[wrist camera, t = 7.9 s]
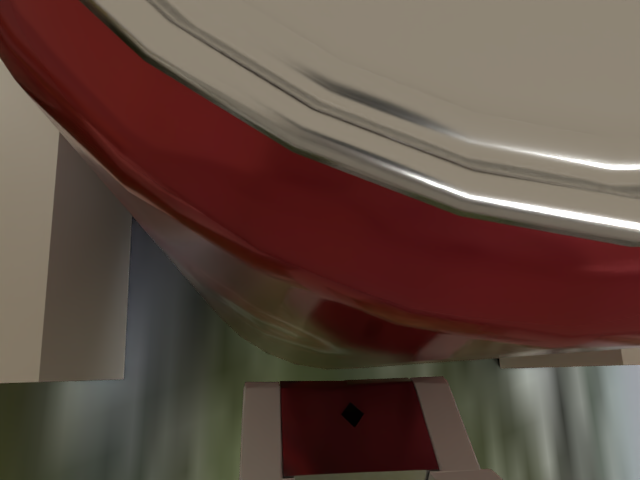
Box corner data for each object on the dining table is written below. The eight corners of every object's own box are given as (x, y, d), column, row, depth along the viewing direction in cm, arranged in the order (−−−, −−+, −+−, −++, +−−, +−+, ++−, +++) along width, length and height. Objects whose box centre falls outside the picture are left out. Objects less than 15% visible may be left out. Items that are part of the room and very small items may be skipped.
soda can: (200, 389, 13) (-309, 502, 2) (175, 104, 15) (-171, -891, 3) (496, 348, 14) (1595, 221, 2) (443, 82, 16) (952, -770, 4)
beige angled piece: (546, 367, 14) (693, 362, 9) (70, 380, 13) (-48, 384, 8) (508, 36, 16) (611, -110, 11) (95, 25, 15) (12, -140, 10)
